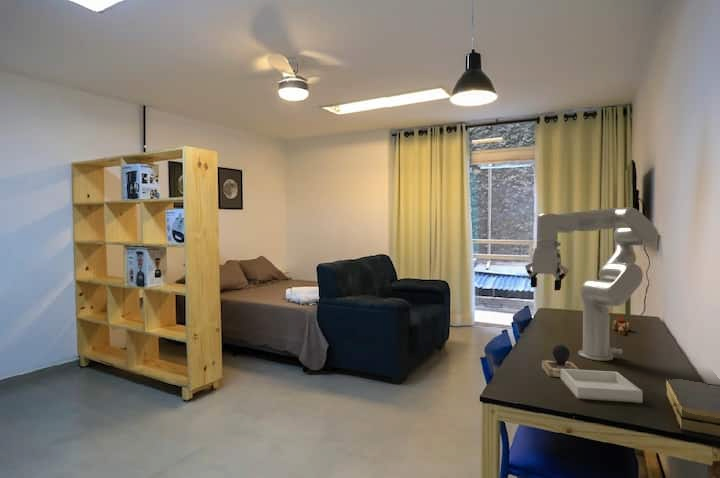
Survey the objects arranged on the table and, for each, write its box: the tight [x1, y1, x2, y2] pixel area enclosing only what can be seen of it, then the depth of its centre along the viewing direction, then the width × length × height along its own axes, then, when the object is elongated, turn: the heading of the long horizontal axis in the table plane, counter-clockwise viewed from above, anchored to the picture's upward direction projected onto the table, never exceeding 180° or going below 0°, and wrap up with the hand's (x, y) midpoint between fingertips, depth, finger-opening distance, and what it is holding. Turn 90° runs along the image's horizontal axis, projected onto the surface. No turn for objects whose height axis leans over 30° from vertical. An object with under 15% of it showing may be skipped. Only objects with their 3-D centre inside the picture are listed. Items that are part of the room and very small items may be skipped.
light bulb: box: [552, 344, 571, 369], centre depth 153 cm, size 6×6×10 cm
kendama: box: [612, 317, 630, 336], centre depth 218 cm, size 8×6×18 cm
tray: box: [559, 368, 644, 404], centre depth 136 cm, size 18×18×4 cm
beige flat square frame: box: [541, 359, 580, 378], centre depth 153 cm, size 10×10×2 cm
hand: (545, 288), depth 165 cm, fingers open, 9 cm apart
